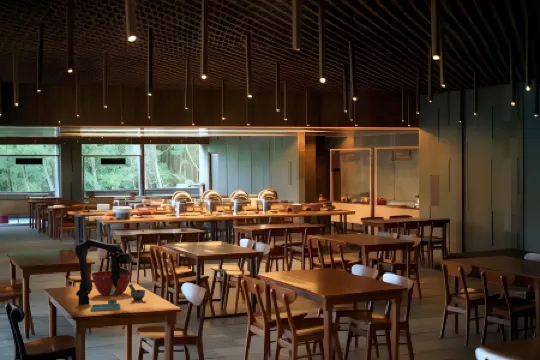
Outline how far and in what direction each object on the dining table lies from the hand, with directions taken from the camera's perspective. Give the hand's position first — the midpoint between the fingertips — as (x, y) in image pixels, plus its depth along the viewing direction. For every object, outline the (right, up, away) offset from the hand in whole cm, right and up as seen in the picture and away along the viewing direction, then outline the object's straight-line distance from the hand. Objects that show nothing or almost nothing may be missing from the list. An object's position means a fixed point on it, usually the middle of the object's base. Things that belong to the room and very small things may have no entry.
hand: (115, 287), depth 465 cm
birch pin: (-1, -5, 0) cm, 5 cm away
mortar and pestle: (+11, -12, +17) cm, 23 cm away
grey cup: (-2, -12, 0) cm, 12 cm away
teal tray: (-4, -12, -11) cm, 17 cm away
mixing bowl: (-12, -12, +44) cm, 47 cm away
